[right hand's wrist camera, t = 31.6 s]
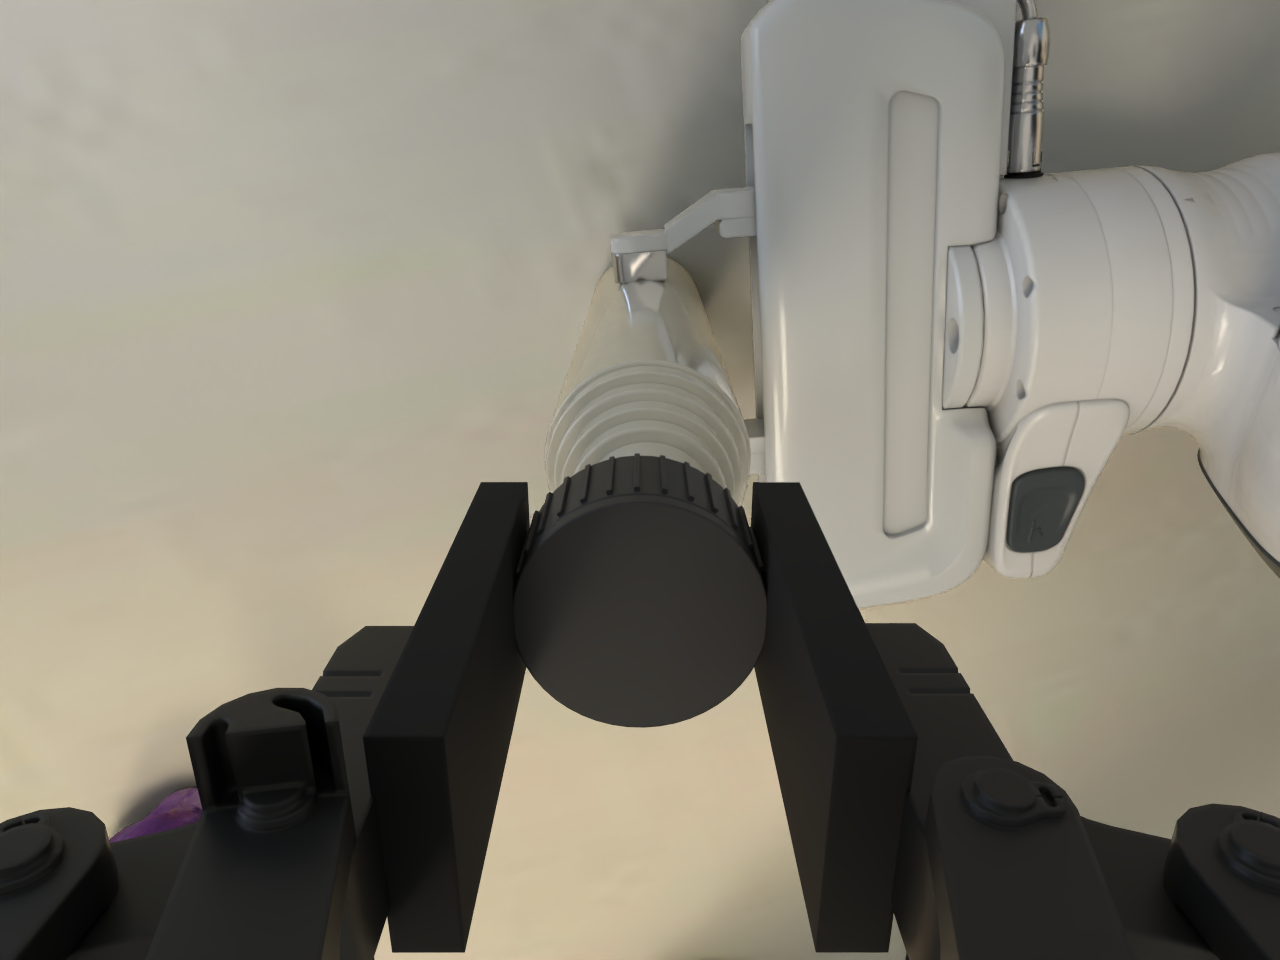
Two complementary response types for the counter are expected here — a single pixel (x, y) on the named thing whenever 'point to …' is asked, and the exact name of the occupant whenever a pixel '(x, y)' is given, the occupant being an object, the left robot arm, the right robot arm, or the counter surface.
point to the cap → (640, 593)
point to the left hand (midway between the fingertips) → (620, 346)
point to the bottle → (649, 386)
